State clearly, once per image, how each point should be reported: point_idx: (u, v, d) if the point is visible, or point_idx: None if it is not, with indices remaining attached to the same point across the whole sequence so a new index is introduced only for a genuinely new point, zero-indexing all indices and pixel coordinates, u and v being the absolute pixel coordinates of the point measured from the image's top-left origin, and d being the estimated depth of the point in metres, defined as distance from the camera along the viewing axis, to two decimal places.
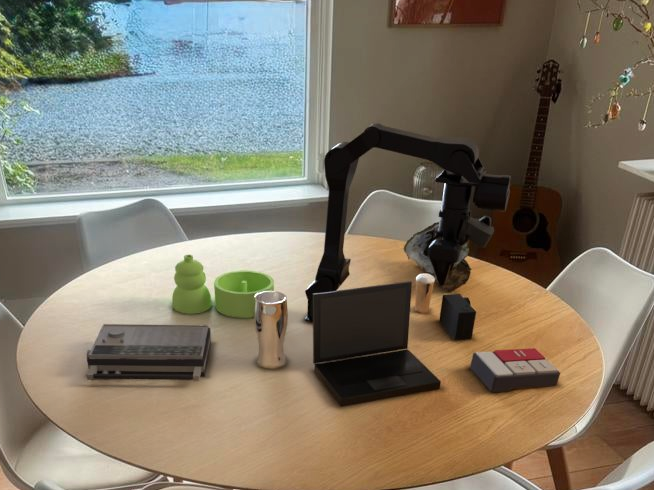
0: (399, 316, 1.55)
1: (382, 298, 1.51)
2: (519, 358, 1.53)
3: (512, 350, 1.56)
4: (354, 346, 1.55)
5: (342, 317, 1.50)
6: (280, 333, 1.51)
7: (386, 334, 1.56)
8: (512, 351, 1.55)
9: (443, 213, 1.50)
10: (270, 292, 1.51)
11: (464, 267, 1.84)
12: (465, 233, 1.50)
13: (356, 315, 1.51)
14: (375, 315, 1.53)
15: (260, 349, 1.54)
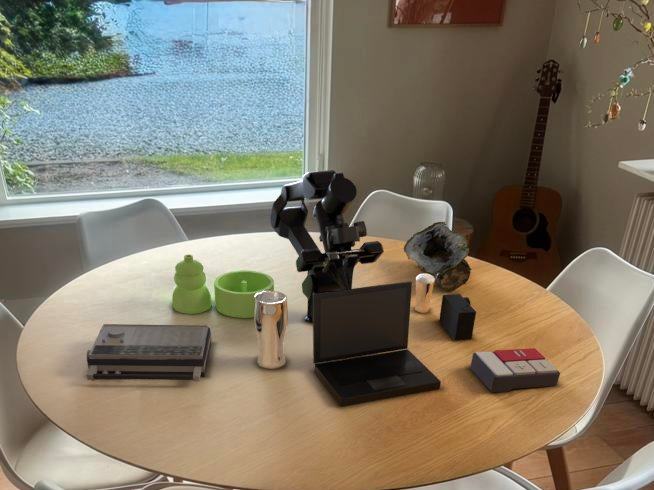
0: (399, 316, 1.55)
1: (382, 298, 1.51)
2: (519, 358, 1.53)
3: (512, 350, 1.56)
4: (354, 346, 1.55)
5: (342, 317, 1.50)
6: (280, 333, 1.51)
7: (386, 334, 1.56)
8: (512, 351, 1.55)
9: (320, 236, 1.60)
10: (270, 292, 1.51)
11: (464, 267, 1.84)
12: (329, 240, 1.54)
13: (356, 315, 1.51)
14: (375, 315, 1.53)
15: (260, 349, 1.54)
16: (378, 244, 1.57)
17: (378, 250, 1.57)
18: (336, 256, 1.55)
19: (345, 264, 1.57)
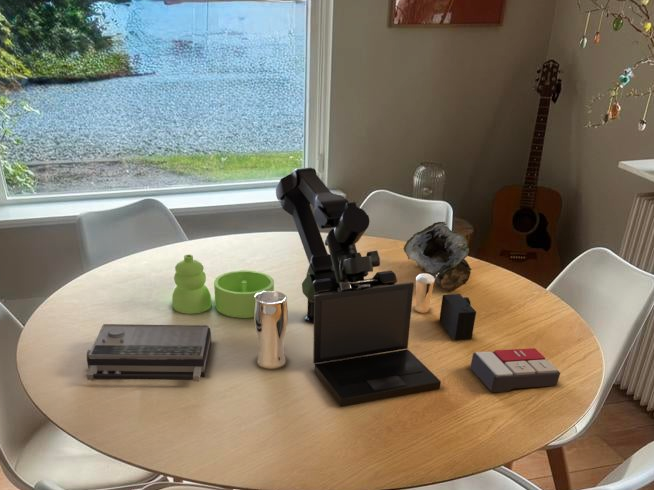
0: (400, 317, 1.55)
1: (383, 299, 1.51)
2: (519, 358, 1.53)
3: (512, 350, 1.56)
4: (354, 346, 1.55)
5: (343, 318, 1.50)
6: (280, 333, 1.51)
7: (386, 334, 1.56)
8: (512, 351, 1.55)
9: (332, 265, 1.56)
10: (270, 292, 1.51)
11: (464, 267, 1.84)
12: (341, 270, 1.51)
13: (357, 316, 1.51)
14: (376, 316, 1.52)
15: (260, 349, 1.54)
16: (391, 274, 1.54)
17: (391, 280, 1.54)
18: (348, 286, 1.52)
19: None
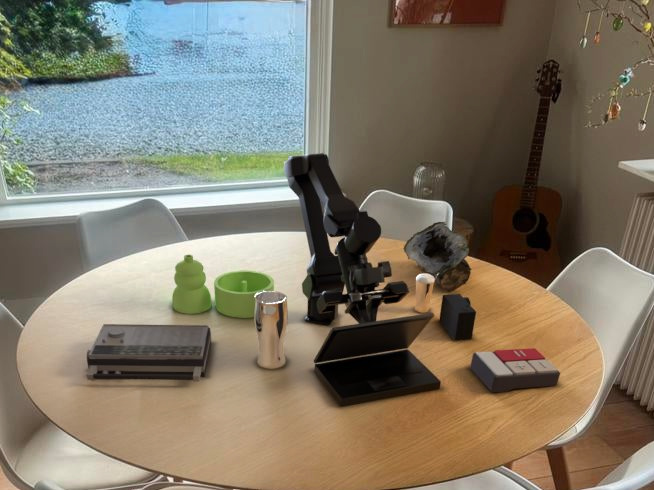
0: (410, 334, 1.52)
1: (399, 326, 1.46)
2: (519, 358, 1.53)
3: (512, 350, 1.56)
4: (357, 352, 1.54)
5: (354, 339, 1.47)
6: (280, 333, 1.51)
7: (392, 344, 1.54)
8: (512, 351, 1.55)
9: (342, 275, 1.52)
10: (270, 292, 1.51)
11: (464, 267, 1.84)
12: (352, 280, 1.47)
13: (368, 337, 1.47)
14: (387, 335, 1.49)
15: (260, 349, 1.54)
16: (403, 284, 1.50)
17: (403, 291, 1.50)
18: (359, 297, 1.48)
19: (368, 305, 1.50)
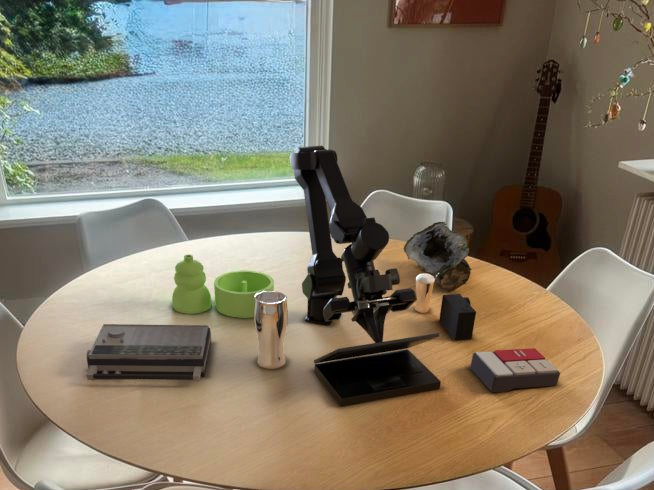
0: (412, 344, 1.51)
1: (404, 343, 1.46)
2: (519, 358, 1.53)
3: (512, 350, 1.56)
4: (358, 355, 1.54)
5: (358, 352, 1.46)
6: (280, 333, 1.51)
7: (393, 349, 1.54)
8: (512, 351, 1.55)
9: (349, 282, 1.49)
10: (270, 292, 1.51)
11: (464, 267, 1.84)
12: (359, 288, 1.44)
13: (372, 350, 1.47)
14: (390, 347, 1.49)
15: (260, 349, 1.54)
16: (411, 292, 1.47)
17: (411, 298, 1.47)
18: (366, 305, 1.45)
19: (376, 313, 1.47)
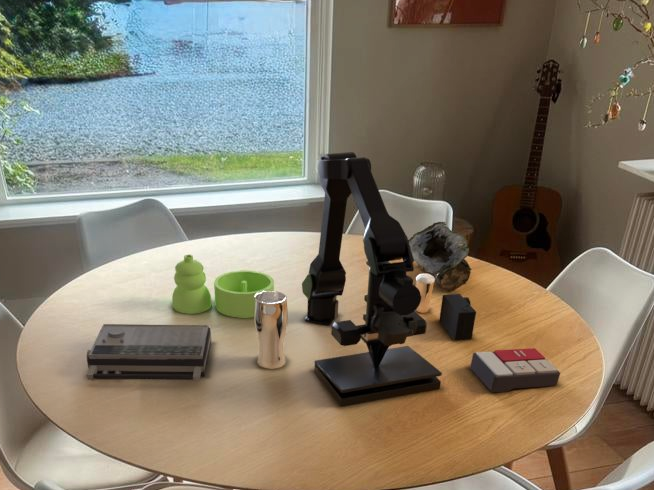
0: None
1: None
2: (519, 358, 1.53)
3: (512, 350, 1.56)
4: None
5: None
6: (280, 333, 1.51)
7: None
8: (512, 351, 1.55)
9: (366, 297, 1.43)
10: (270, 292, 1.51)
11: (464, 267, 1.84)
12: (374, 324, 1.41)
13: None
14: None
15: (260, 349, 1.54)
16: (423, 327, 1.45)
17: (420, 333, 1.46)
18: (376, 336, 1.44)
19: None
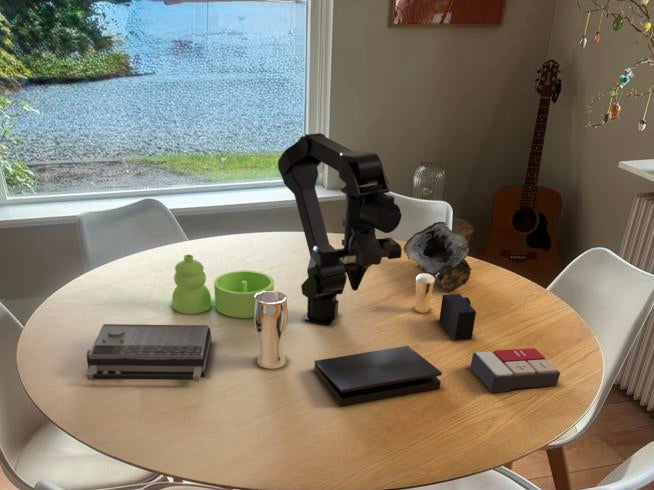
0: None
1: None
2: (519, 358, 1.53)
3: (512, 350, 1.56)
4: None
5: None
6: (280, 333, 1.51)
7: None
8: (512, 351, 1.55)
9: (344, 222, 1.52)
10: (270, 292, 1.51)
11: (464, 267, 1.84)
12: (351, 246, 1.50)
13: None
14: None
15: (260, 349, 1.54)
16: (398, 251, 1.55)
17: (396, 257, 1.55)
18: (353, 259, 1.53)
19: None
